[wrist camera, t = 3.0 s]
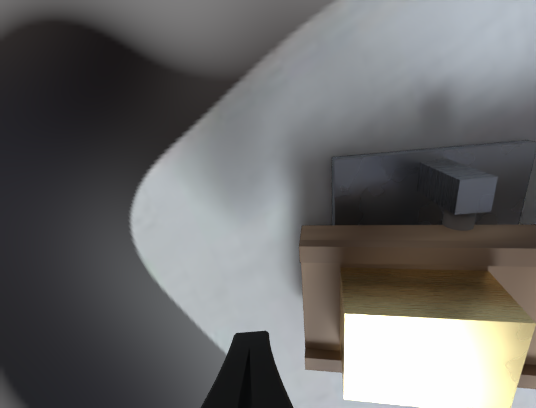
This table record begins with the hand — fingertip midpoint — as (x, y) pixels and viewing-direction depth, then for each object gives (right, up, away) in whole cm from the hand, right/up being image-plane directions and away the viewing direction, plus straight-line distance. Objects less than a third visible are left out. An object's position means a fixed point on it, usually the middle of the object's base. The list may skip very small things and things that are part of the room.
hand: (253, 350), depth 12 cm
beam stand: (+9, +3, +5) cm, 11 cm away
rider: (+7, +1, +1) cm, 7 cm away
